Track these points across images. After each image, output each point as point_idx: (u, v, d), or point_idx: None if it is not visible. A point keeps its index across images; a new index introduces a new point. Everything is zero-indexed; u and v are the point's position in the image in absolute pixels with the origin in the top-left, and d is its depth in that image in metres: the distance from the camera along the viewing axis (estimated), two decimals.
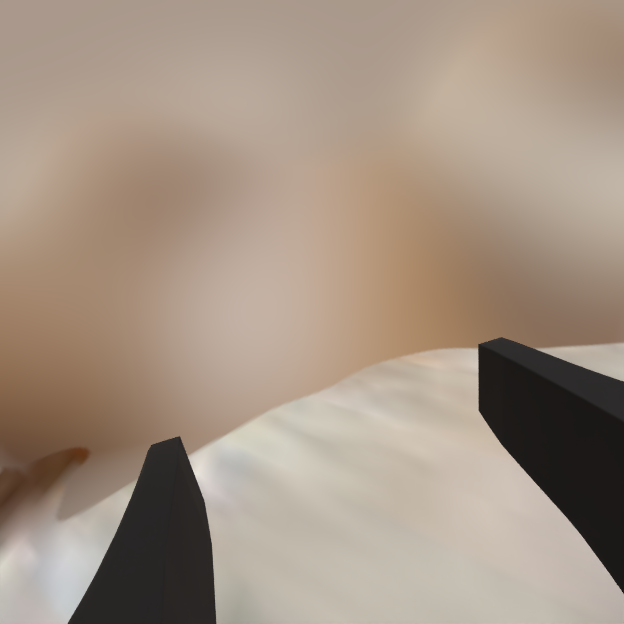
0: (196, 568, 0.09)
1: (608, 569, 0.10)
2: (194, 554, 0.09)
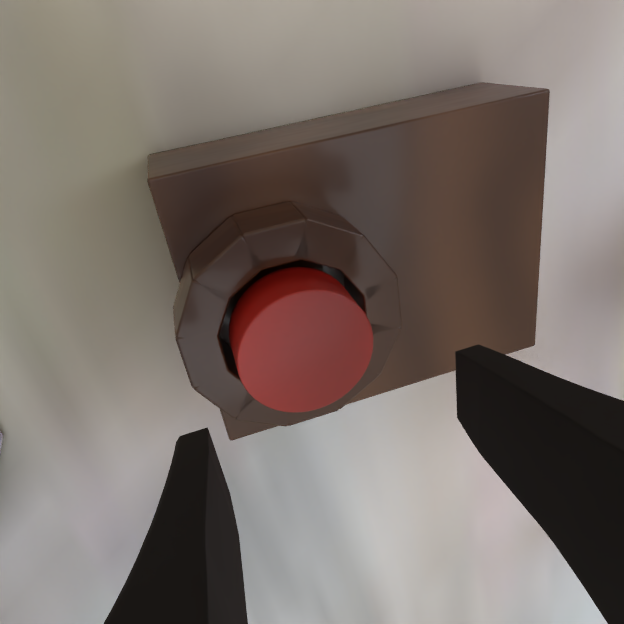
0: (228, 557, 0.09)
1: (581, 579, 0.10)
2: (226, 543, 0.10)
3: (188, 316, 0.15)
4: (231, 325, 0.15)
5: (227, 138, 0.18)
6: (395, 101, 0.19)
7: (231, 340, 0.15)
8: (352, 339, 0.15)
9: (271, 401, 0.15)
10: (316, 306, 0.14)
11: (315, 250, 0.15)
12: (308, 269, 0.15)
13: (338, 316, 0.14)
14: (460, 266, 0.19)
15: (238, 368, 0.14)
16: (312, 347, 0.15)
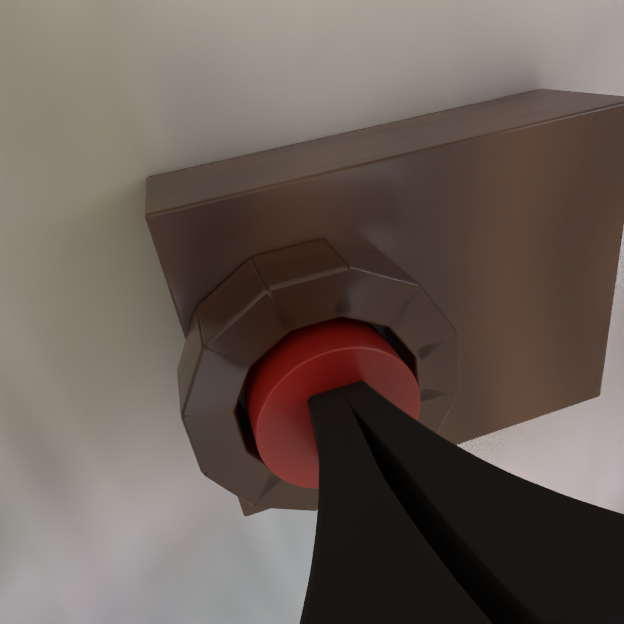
0: None
1: None
2: None
3: (197, 390, 0.11)
4: (247, 384, 0.12)
5: (242, 157, 0.15)
6: (441, 111, 0.16)
7: (247, 403, 0.12)
8: (395, 402, 0.12)
9: (296, 477, 0.12)
10: (354, 366, 0.11)
11: (359, 305, 0.12)
12: None
13: (379, 376, 0.12)
14: (522, 310, 0.16)
15: (257, 442, 0.12)
16: None
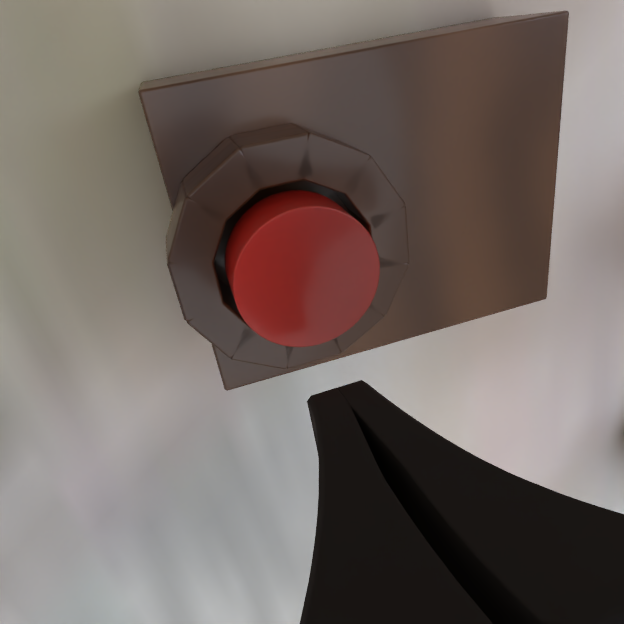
0: None
1: None
2: None
3: (181, 238, 0.14)
4: (227, 251, 0.14)
5: (225, 67, 0.17)
6: (403, 34, 0.18)
7: (227, 267, 0.14)
8: (357, 266, 0.14)
9: (269, 333, 0.14)
10: (319, 225, 0.13)
11: (318, 169, 0.14)
12: (310, 192, 0.14)
13: (342, 238, 0.13)
14: (471, 206, 0.18)
15: (234, 292, 0.13)
16: (313, 272, 0.14)
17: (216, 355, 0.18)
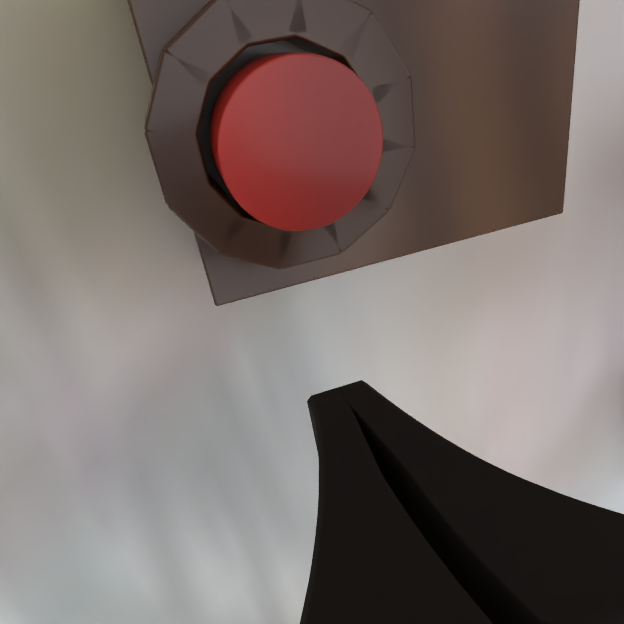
0: None
1: None
2: None
3: (159, 101, 0.12)
4: (212, 121, 0.13)
5: None
6: None
7: (212, 137, 0.12)
8: (358, 133, 0.12)
9: (260, 211, 0.12)
10: (314, 78, 0.11)
11: (313, 24, 0.12)
12: None
13: (341, 96, 0.12)
14: (481, 98, 0.16)
15: (219, 158, 0.12)
16: (309, 137, 0.12)
17: (205, 263, 0.16)
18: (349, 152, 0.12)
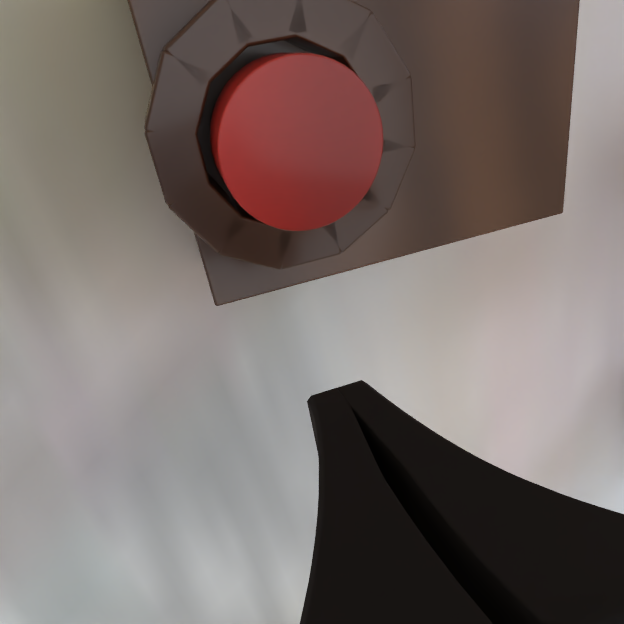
0: None
1: None
2: None
3: (159, 101, 0.12)
4: (212, 121, 0.13)
5: None
6: None
7: (212, 137, 0.12)
8: (358, 133, 0.12)
9: (260, 211, 0.12)
10: (314, 78, 0.11)
11: (313, 24, 0.12)
12: None
13: (341, 96, 0.12)
14: (481, 98, 0.16)
15: (219, 158, 0.12)
16: (309, 137, 0.12)
17: (205, 263, 0.16)
18: (349, 152, 0.12)
